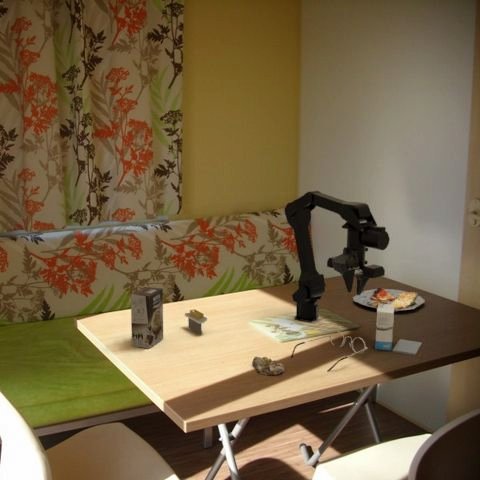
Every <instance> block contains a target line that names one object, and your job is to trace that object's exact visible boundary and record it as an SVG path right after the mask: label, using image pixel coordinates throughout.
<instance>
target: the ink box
mask: <svg viewBox="0 0 480 480" xmlns="http://www.w3.org/2000/svg"><path fill="white" fill-rule="evenodd" d="M394 320H395V312H394V305H389V304H378V308H377V309H376V323H375V342H374V343H375V344H374V345H375V346H374V347H375V348H374V349H375V350H380V351H381V350H382V351H392V350H393V339H394V338H393V335H394V324H395V323H394Z"/></svg>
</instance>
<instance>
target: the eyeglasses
mask: <svg viewBox="0 0 480 480" xmlns="http://www.w3.org/2000/svg"><path fill="white" fill-rule="evenodd" d="M337 332H338V333H340V334H341V335H342V338H343V340H342V342H341V345H339V346H338V347H339V348H341V347H343V346H345V344H346V341H347V339H346V338H350V342H349V347H350V348H351V350H352V351H353V352H354V353H351V354H350V355H348V356H344V357H343V358H340V359H338V360H337V361H336V362H335V363H334V364H333V365H332V366H331V367H329V369H328V370H327V372H330V371H332V369H333V368H335V366H336V365H337V364H338V363H339V362H340V361H341V362H342V361H344V360H345V359H348V358H349V357H352V356H354V355H357V354H359V355H362V354H363V353H364V352H365V351H366V350H368V347H367V346H366V342H365V341H364V339H363V338H361V337H359V336H358V337H355V338H353V339H352V337H351V336H345V335H344V334H343V333H342V332H341V331H339V330H337ZM333 333H335V330H334V331H332V332H331V333H330V335H329V334H328V335H323V336H320V337H317V338H314V339H311V340H308V341H302V342H299V343H297V344H295V346H294V347H293V351H292V353H291V357H290V359H293V357H294V353H295V350H296V349H297V347H298V346H300V345H304V344H306V343H309V342H313V341H317V340H321V339H324V338H329V339H330V343H331V344H332V346H335V344H334V343H333V342H332V341H333V340H332V335H333ZM355 339H360V340H361V341H362V342H363V345H364V348H363V349H361V350H359V351H356V350H355V349H354V348H355V347H354V341H355Z"/></svg>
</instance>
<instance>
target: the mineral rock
mask: <svg viewBox="0 0 480 480" xmlns="http://www.w3.org/2000/svg"><path fill="white" fill-rule="evenodd" d="M251 362H252V363H251V364H252V367H253V368H254V369H255V370H256V371H257V373H259V374H261V375H265V376H270V375H272V376H273V375H276V376H277V375H280V374H282V373H285V365H284V364H282V363H280V362H278V361H277V360H272V358H268V357H267V356H264V357H260V356H254V357H253V359H252V361H251Z"/></svg>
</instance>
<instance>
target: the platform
mask: <svg viewBox="0 0 480 480" xmlns="http://www.w3.org/2000/svg"><path fill="white" fill-rule="evenodd" d="M204 315H205V314H204V313H203V312H201V311H199V310H197V309H195V308H193V309H190V310H189V312H185V313H184V316H185V317H186V318H188V320H187V322H188V323H187V324H188V329H189V330H192V332H195V333H197V334H198V335H200V336H201V335H202V324H205V323H206V322H207V321H208V318H207V317H206V316H204Z"/></svg>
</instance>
